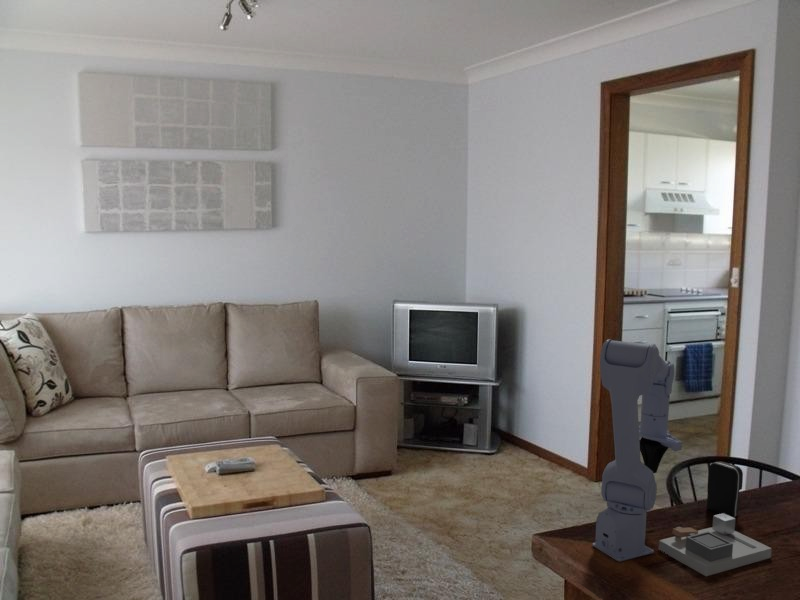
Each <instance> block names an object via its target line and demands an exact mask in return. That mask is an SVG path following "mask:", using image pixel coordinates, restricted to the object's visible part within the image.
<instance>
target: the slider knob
mask: <svg viewBox="0 0 800 600" xmlns="http://www.w3.org/2000/svg"><path fill="white" fill-rule="evenodd" d="M735 528H736V518H735V517H731V516H729V515H726V514H724V513H722V514H721V513H719V514H715V515H713V517H712V529H713V530H715V531H717V532H719V533H721V534H723V535H726V534H730V533H734V532H735V531H736V530H735Z"/></svg>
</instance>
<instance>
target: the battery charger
mask: <svg viewBox="0 0 800 600" xmlns="http://www.w3.org/2000/svg"><path fill="white" fill-rule="evenodd" d="M743 475H744V472H743V469H742V468H740V466H737V465H735V464H732V463H730V462H725V461H722V460H721V461H715V462H713V463H711V464H710V465H709V467H708V474H707V496H706V508H707V509H709V510H710V511H712V512H715V513H719V514H722V513H724V514H726V515H729V516H731V517H733V518H735V517H736V516H738V514H739V508H738V507H739V506H738V505H739V496H740V491H741V490H742V489H743V484H744V483H743V478H744V477H743Z"/></svg>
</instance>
